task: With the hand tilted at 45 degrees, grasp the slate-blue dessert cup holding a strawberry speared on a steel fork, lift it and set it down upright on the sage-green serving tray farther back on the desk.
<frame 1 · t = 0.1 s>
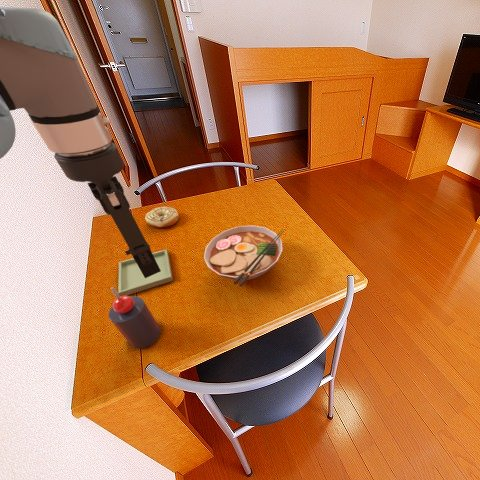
hand: (141, 253, 53), 25 cm above the table, tool pointing down, fingers open, 13 cm apart
decorated donut: (164, 221, 102), on the table
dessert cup: (145, 335, 67), on the table
ramen bowl: (247, 266, 87), on the table
serving tray: (146, 273, 83), on the table
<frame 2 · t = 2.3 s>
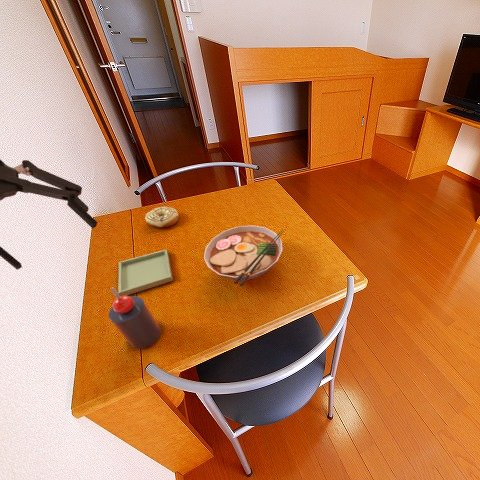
hand: (60, 244, 54), 26 cm above the table, tool tilted 45°, fingers open, 13 cm apart
nothing on the table moved.
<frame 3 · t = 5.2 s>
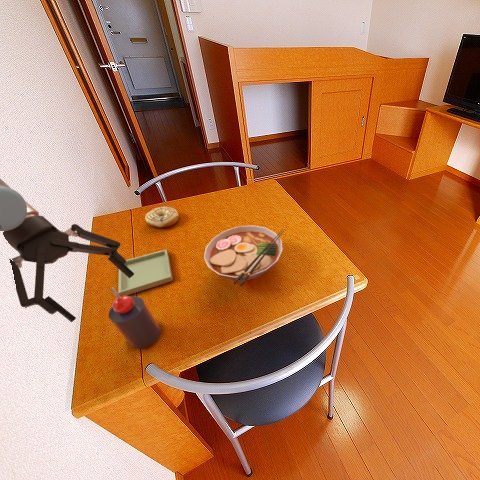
hand: (105, 296, 62), 11 cm above the table, tool tilted 45°, fingers open, 13 cm apart
nothing on the table moved.
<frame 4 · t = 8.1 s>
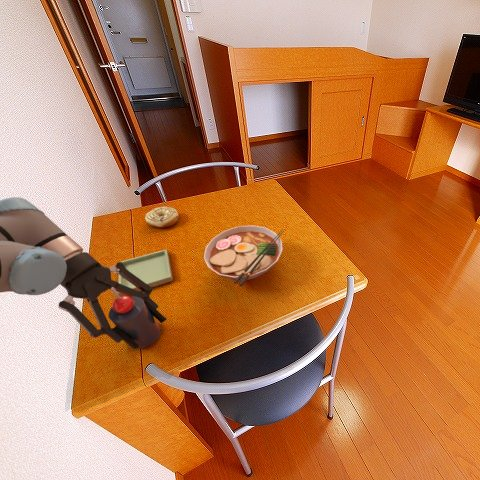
hand: (150, 333, 64), 3 cm above the table, tool tilted 45°, fingers closed on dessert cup, 7 cm apart
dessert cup: (145, 335, 67), on the table, touching gripper
everything else where it was.
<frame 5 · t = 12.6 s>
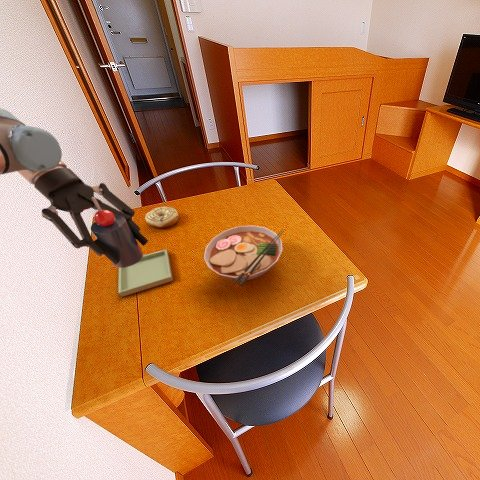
hand: (132, 252, 67), 16 cm above the table, tool tilted 45°, fingers closed on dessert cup, 7 cm apart
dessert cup: (128, 258, 70), point 12 cm above the table, touching gripper
everything else where it was.
when the fingers open (4 cm above the table, at t = 16.9 s): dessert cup stays where it is, resting on serving tray.
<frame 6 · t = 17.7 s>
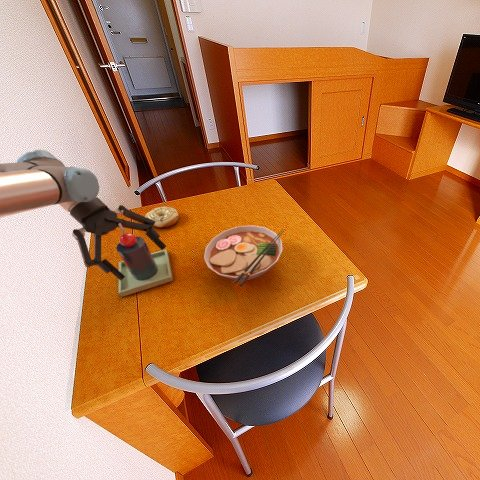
hand: (145, 262, 78), 6 cm above the table, tool tilted 45°, fingers open, 13 cm apart
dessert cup: (145, 271, 82), point 1 cm above the table, touching serving tray
everything else where it was.
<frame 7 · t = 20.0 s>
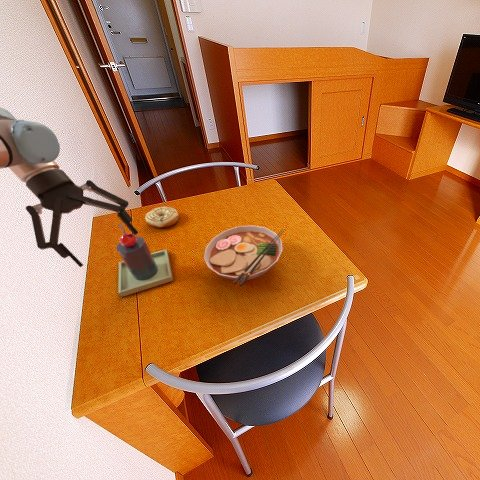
hand: (110, 249, 70), 14 cm above the table, tool tilted 40°, fingers open, 13 cm apart
nothing on the table moved.
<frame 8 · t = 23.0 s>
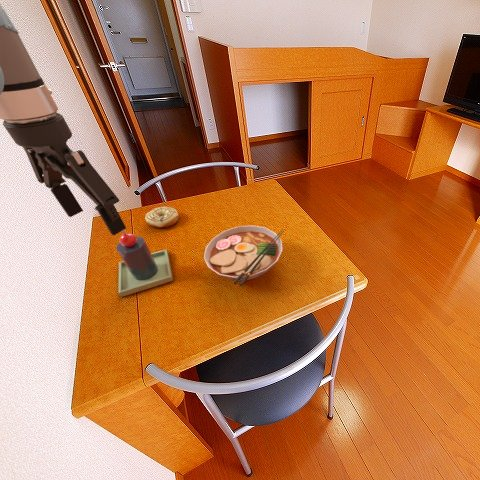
hand: (96, 222, 58), 27 cm above the table, tool pointing down, fingers open, 13 cm apart
nothing on the table moved.
at the end: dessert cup inside the target area in the serving tray (0.0 cm from its centre), point 0.6 cm above the serving tray's base; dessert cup tilted 0°; the gripper is holding nothing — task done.
